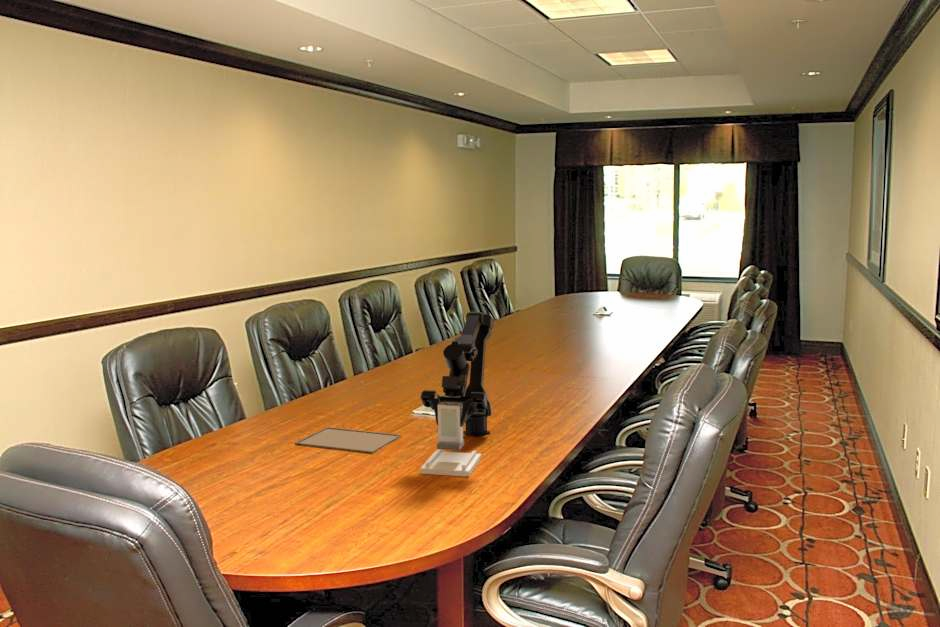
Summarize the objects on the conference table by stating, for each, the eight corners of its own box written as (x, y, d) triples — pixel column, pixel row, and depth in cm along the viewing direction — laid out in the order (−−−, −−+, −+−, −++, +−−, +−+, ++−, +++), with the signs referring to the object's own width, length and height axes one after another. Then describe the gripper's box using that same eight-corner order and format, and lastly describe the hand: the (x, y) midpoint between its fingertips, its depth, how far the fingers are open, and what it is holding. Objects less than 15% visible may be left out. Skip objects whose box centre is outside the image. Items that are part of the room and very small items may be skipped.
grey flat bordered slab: (401, 437, 270) (327, 430, 280) (401, 434, 270) (327, 427, 280) (373, 454, 252) (294, 445, 263) (373, 451, 252) (294, 442, 263)
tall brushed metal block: (442, 442, 243) (441, 401, 241) (464, 444, 241) (463, 402, 239) (437, 449, 237) (436, 406, 235) (459, 450, 235) (458, 407, 234)
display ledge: (435, 456, 249) (435, 447, 249) (481, 458, 246) (481, 449, 246) (420, 473, 234) (420, 464, 233) (469, 476, 230) (468, 467, 230)
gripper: (421, 362, 242) (411, 409, 233) (484, 365, 237) (476, 412, 228) (429, 383, 250) (420, 429, 241) (490, 385, 246) (483, 432, 237)
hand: (449, 425), depth 237 cm, fingers closed on tall brushed metal block, 6 cm apart
